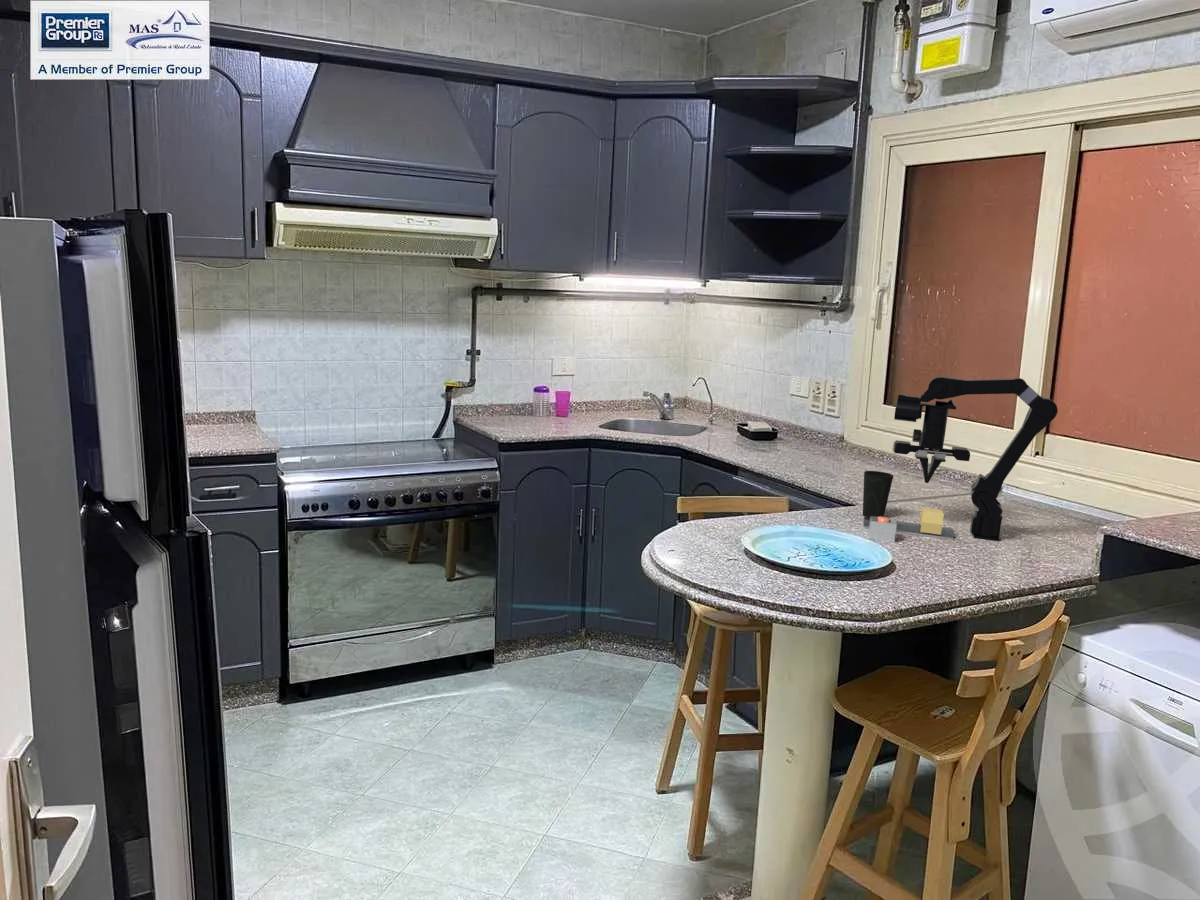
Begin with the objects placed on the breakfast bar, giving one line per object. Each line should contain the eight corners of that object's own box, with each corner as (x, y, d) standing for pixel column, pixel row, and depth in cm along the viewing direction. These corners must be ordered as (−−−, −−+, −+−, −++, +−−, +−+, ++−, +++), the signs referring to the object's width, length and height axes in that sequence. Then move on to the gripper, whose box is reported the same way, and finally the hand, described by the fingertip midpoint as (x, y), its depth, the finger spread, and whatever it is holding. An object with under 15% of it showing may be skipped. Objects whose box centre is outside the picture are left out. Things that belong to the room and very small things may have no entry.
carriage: (938, 529, 243) (941, 509, 242) (940, 534, 238) (943, 514, 237) (918, 527, 244) (921, 507, 243) (920, 531, 239) (923, 511, 238)
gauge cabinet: (892, 536, 236) (895, 519, 235) (894, 542, 230) (896, 524, 229) (868, 533, 237) (870, 515, 236) (869, 538, 232) (871, 521, 231)
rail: (950, 534, 243) (951, 527, 243) (952, 540, 237) (954, 532, 237) (862, 522, 248) (863, 515, 248) (863, 528, 242) (864, 520, 242)
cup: (881, 521, 252) (887, 477, 250) (854, 515, 256) (860, 472, 254) (891, 517, 258) (897, 474, 256) (865, 511, 262) (870, 469, 260)
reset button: (888, 524, 234) (889, 517, 234) (888, 527, 232) (889, 519, 231) (876, 523, 235) (877, 515, 234) (877, 525, 232) (878, 518, 232)
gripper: (967, 424, 250) (959, 481, 253) (895, 417, 254) (887, 473, 257) (974, 429, 240) (965, 489, 242) (898, 422, 244) (890, 480, 246)
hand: (926, 482), depth 247 cm, fingers closed
